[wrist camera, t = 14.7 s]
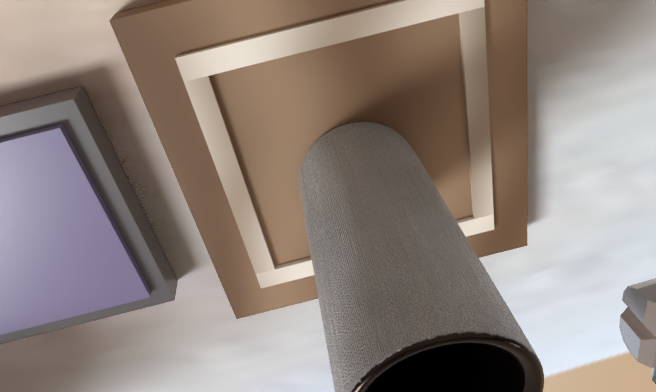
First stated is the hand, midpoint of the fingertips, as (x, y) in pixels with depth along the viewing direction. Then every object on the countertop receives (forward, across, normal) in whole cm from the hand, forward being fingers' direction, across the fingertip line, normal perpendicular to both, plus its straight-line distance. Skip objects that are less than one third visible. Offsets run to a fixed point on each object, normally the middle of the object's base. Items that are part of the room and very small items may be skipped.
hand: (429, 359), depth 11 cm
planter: (+10, 0, +2) cm, 11 cm away
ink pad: (+11, +13, +1) cm, 17 cm away
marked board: (+11, 0, +1) cm, 11 cm away
